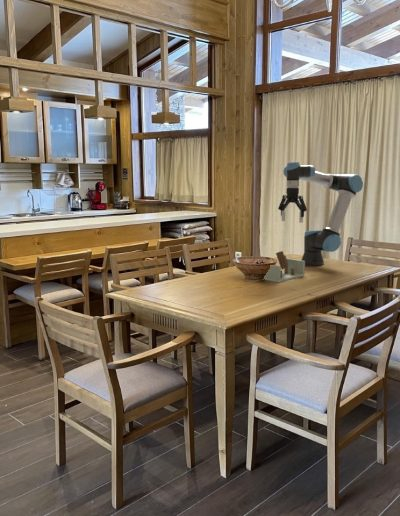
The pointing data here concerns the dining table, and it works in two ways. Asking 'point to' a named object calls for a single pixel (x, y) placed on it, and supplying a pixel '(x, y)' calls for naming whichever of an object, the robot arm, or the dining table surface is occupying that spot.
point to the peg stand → (286, 271)
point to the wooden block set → (282, 260)
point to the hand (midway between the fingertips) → (292, 221)
